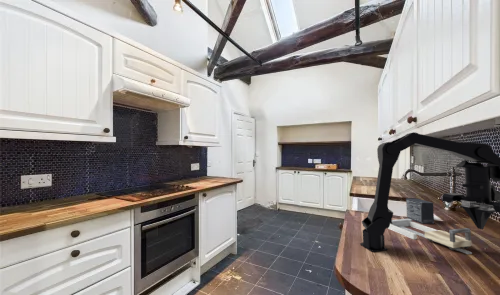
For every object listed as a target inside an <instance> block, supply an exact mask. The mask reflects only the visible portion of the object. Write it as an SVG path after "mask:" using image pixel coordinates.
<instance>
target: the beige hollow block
mask: <svg viewBox="0 0 500 295" xmlns="http://www.w3.org/2000/svg"><path fill="white" fill-rule="evenodd" d="M448 230H449V232H448V231H445V230H442V229H441V230H439V231H429V232H425V231H423V232H424V233H423V234H424V235H425V237H426V238H425V239H427V238H428V239H427V241H428V242H432V240H434V241H433V242H435V241H436V242H435V243H437V242H439V243H438V244H440V243H441V244H440V245H442V244H444V245H443V246H445V245H447V246H449V247H448V248H449V250H450V251H454V250H455V248H458V247H459V248H462V249H464V250H466V249H469V247H472V245H473V244H472V236H471V228H468V227H464V228H454V229H448ZM462 233H464V237H462V236H459V235H457V234H462ZM447 246H446V247H447Z"/></svg>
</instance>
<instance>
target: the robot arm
mask: <svg viewBox="0 0 500 295" xmlns="http://www.w3.org/2000/svg"><path fill="white" fill-rule="evenodd" d="M413 145H415V146H420V147H423V148H427V149H432V150H436V151H441V152H445V153H449V154H452V155H453V156H455V157H457V158H460V159H462V161H460V163H457V164H456V165H455V167H456V168H461V169H462V168H463V169H464V183H462V184H461V186H462V188H465V194H463V193H455V192H451V193H450V192H448V193H447V192H446V193H443V194H442V195H441V201H442V202H445V203H449V204H451V203H453V202H460V203H461V204H460V205H459V207H460V208H462V209H463V210H464V211H465V212H466V214H467V215H468V216H469V218H470V219H471V220H472V222H473V223H474V225H475V227H476V228H477V229H478V230H483V229H484V228H485V226H486V224H487V222H488V220H489V218H490V217H491V216H492V214H494V213H500V190H497V189H496V186H495V185H494V184H492V181H493V182H499V183H500V156H498V154H496V152H495V151H494V149H493V148H492V145H490V144H487V143H485V142H484V143H483V142H481V143H480V142H467V141H466V142H462V141H454V140H450V139H446V138H445V139H444V138H440V137H436V136H431V135H427V134H421V133H418V132H409V133H406V134H404V135H403V136H401V137H398V138H396V139H394V140H391V141H387V142H383V143H381V144H379V145H378V146H377V151H376V152H377V154H376V155H377V160H378V170H377V172H378V173H377V180H376V186H375V191H374V192H375V194H374V201H373V202H372V204H371V206H370V208H369V210H368V212H367V213H368V214H367V216H366V217H365V218H363V219H362V220H361V224H362V226H363V227H364V229H362V242H361V243H359V244H360V245H361V246H362V247H364V248H365V249H367V250H369V251H370V252H372V253H375V252H383V251H388V248H387V247H386V246H385V231H386V230H387V229H388V228H389V226H390V223H391V224H392V220H393V217H394V212H393V211H392V210H391V209H389V206H388V204H389V198H390V192H391V191H390V190H391V184H392V177H393V171H394V167H395V165H396V164H397V162H398V160H399V157H400V155H401V153H402V151H404V150H406V149H408V148H410V147H411V146H413ZM469 161H472V162H469ZM484 164H486V165H484Z"/></svg>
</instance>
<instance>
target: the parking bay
mask: <svg viewBox="0 0 500 295" xmlns="http://www.w3.org/2000/svg"><path fill="white" fill-rule="evenodd" d="M409 227H411V228H414V229H417V230H419V231H422V232H429V231H439V230H438V229H435V228H432V227H429V226H426V225H423V224H421V223H419V222H416V221H413V220H412V219H409V218H400V219H392V224H391V223H390V226H389V228H387V229H388V230H391V231H393V232H394V233H398V234H400V235H402V236H405V237H407V238H409V239H411V240H418V237H417V236H420V237H422V238H425V239H426V240H428V238H426V237H425V233H421V232H419V231H416V230H413V229H410V228H409ZM432 241H433V242H435V243H438V244H439V245H442V246H445V247H448V248H449V246H447V245H444V244H441V243H439V242H436V241H434V240H432ZM432 241H431V242H432ZM454 250H455V251H458V252H461V253H463V254H466V255H472V254H473V252H471V251H469V250H466V249H465V248H462V247H458V248H455V249H454Z"/></svg>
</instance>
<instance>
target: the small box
mask: <svg viewBox="0 0 500 295" xmlns="http://www.w3.org/2000/svg"><path fill="white" fill-rule="evenodd" d="M405 203H406V218H407V217H408V218H407V219H412V221H413V222H415V223H418V224H421V225H423V224H426V225H427V224H429V225H431V224H434V225H435V215H434V214H435V212H434V202H432V201H429V200H423V199H419V198H408V197H407V198H405Z"/></svg>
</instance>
